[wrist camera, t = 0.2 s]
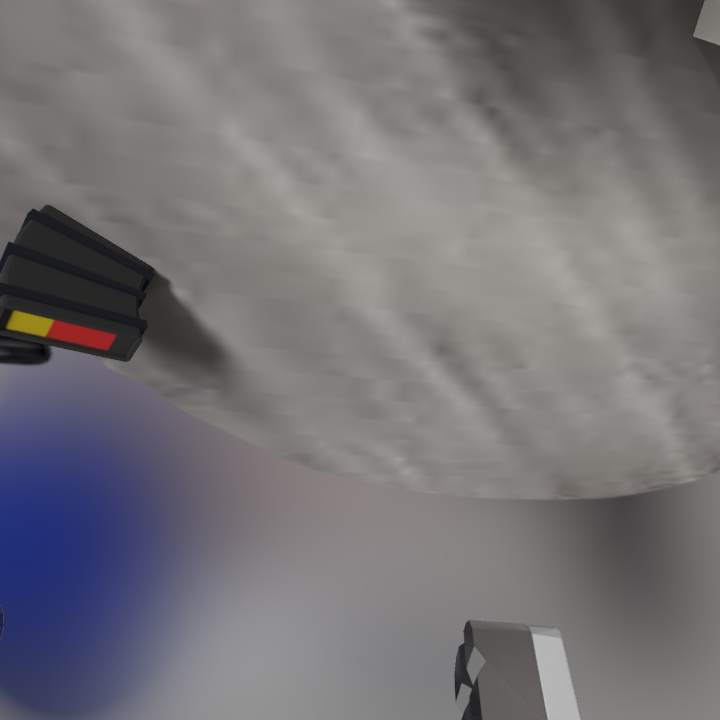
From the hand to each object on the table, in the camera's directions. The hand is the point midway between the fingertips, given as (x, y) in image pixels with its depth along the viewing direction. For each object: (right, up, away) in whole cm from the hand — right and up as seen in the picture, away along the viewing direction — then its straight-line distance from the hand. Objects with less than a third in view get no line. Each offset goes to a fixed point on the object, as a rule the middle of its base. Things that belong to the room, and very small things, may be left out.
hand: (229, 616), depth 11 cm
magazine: (-22, +15, +49) cm, 55 cm away
